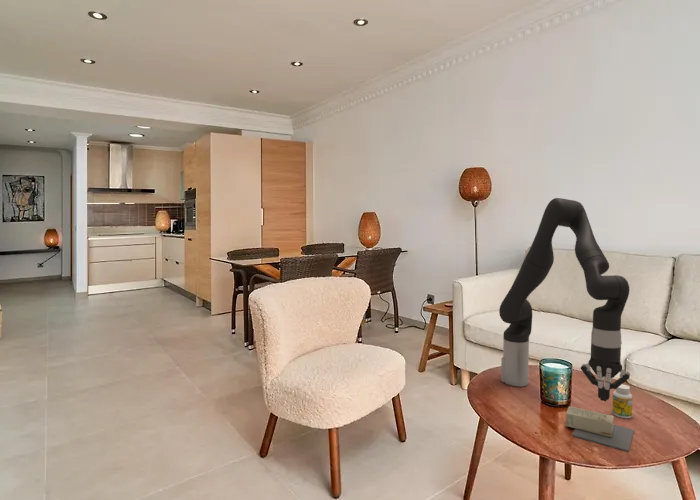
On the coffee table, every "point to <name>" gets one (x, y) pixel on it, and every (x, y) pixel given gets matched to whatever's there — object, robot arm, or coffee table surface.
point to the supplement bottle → (622, 402)
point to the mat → (618, 440)
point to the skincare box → (590, 421)
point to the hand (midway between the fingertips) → (603, 399)
